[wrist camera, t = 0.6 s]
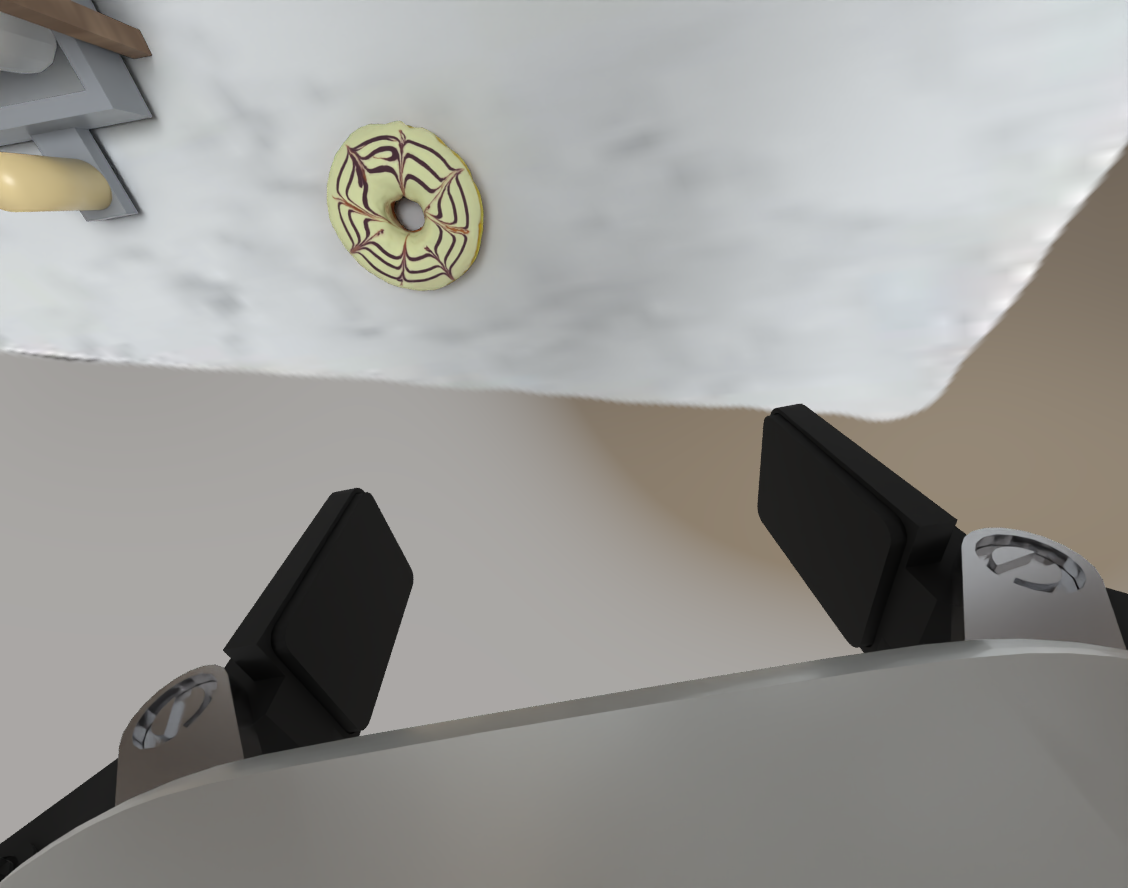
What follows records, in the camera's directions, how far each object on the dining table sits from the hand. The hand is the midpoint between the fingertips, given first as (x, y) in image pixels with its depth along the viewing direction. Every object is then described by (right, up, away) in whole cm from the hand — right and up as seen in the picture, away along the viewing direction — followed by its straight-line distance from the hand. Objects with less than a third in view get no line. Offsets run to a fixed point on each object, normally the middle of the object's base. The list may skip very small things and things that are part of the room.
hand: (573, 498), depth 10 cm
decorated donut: (-12, +19, +22) cm, 32 cm away
